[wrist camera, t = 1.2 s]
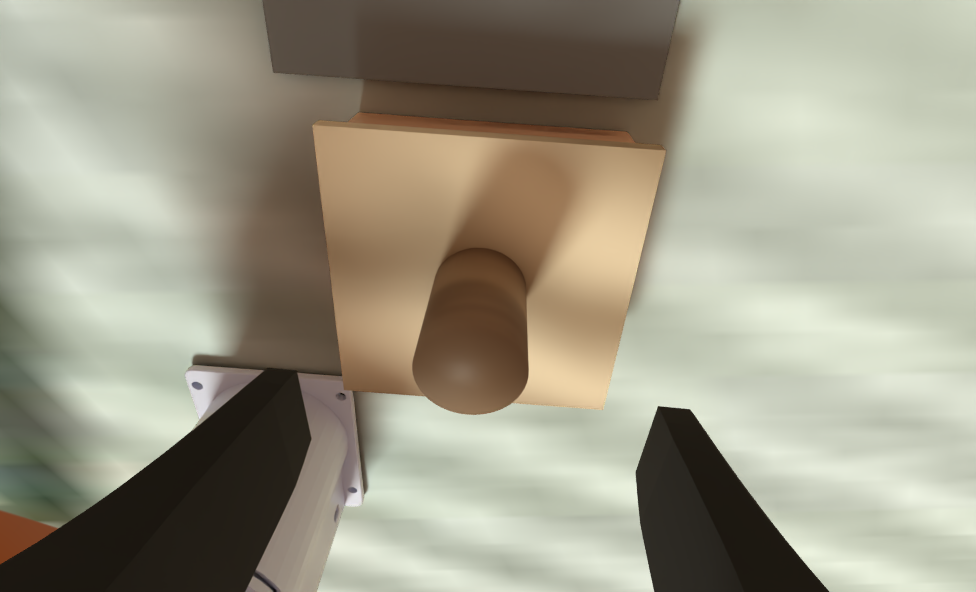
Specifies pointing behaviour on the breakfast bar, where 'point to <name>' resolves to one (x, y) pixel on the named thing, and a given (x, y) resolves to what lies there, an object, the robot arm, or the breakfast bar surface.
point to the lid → (481, 260)
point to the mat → (479, 42)
